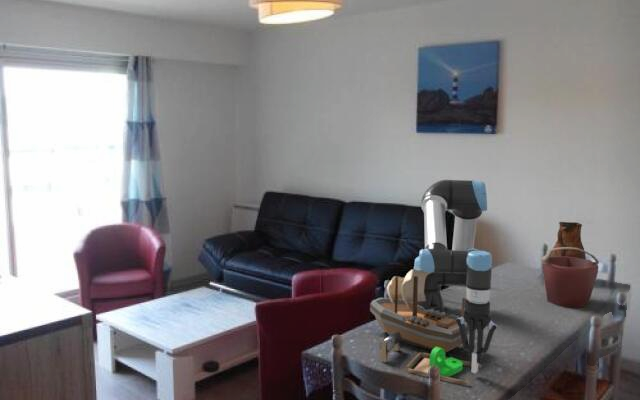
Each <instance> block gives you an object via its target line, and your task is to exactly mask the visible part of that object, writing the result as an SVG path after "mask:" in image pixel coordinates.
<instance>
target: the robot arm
mask: <svg viewBox="0 0 640 400" xmlns="http://www.w3.org/2000/svg"><path fill="white" fill-rule="evenodd" d="M420 206H421V207H420V208H421V210H422V212H423V218H424V219H423V220H424V222H423V223H424V226H423V227H424V249H423V248H422V249H420V250H419V253H418V254H419V255H418V256H417V257H416V258H414V266H413V269H419V270H421V271H425V272H432V273H430V274H428V275H427V277H426V279H425V285H424V295H425V299H426V301H418V302H417V305H419V306H421V307H423V308H424V309H425V310H430V309H434V311H440V312H444V309H445V302H444V298H443V295H442V292H441V291H442V290H441V287H442V286H447V287H448V286H449V287H463V288H465V299H467V300H466V301H465V308H464V315H463V317H461V316H458V317H459V318H458V319H457V320H456V322H457V324H458V326H459V329H460V334H461V339H462V344H461V345H462V348H463V349H464V350H467V351H468V362H472V367H470V368H471V370H470V371H471V372H470V373H472V374H477V373H478V371H479V368H478V364H481V363H482V361H483V360H482V359H483V354H486V353H487V352H488V351H489V348H490V345H491V341H492V339H493V335H494V333H495V331H496V329H498V327H499V325H498V323H494V322H493V321H492V318H491V315H490V314H491V313H490V310H491V302H490V301H491V291H492V286H491V285H492V270H493V256H492V254H491V252H488V251H486V250H479V249H477V248H475V238H476V234H477V233H476V231H477V222H478V219H479V218H480V217H481V216H482V213H483V212H485V211H487V210H488V197H487V187H486V184H485V182H484V181H483V180H475V179H472V180H470V179H469V180H467V179H464V180H462V179H442V180H438V181H436V182H434V183H432V184H431V185H430V186H429V187H428V188H427V189H426V190H425V191H424V193H423V195H422V197H421V205H420ZM446 211H451V212H452V215H454V224H453V226H454V227H453V236H452V246H451V248H452V249H448V243H447V239H448V238H447V226H446V225H447V224H446ZM412 303H413V302H412ZM465 321H466V323H467V324H468V326H469V334H467V333H466V328H465V324H464V323H465ZM487 326H488V328H489V330H488V333H487V335H486V339H485V342H484V330H485V328H486V327H487ZM475 329H476V330H475ZM476 331H477V340H476V338H475V337H476ZM468 335H469V336H468ZM468 338H469V339H468ZM475 342H476V344H475ZM483 343H484V344H483ZM475 345H476V349H475ZM483 345H484V346H483Z"/></svg>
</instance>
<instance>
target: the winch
mask: <svg viewBox="0 0 640 400" xmlns="http://www.w3.org/2000/svg"><path fill="white" fill-rule="evenodd" d="M401 339H402V337H401V334H400V331H396V330H395V331H394V332H393V333H392V334H391V335H389V334H388V336H387V337H385V338H384V340H383V341H381V342H380V343H379V350H380V351H381V352H380V353H381V354H380V355H381V357H380V362H381V363H387V362H388V357H389V356H388V354H389V352H391V351H392V350H393V351H394V352H399V351H400V342H402V341H401Z"/></svg>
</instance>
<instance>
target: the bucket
mask: <svg viewBox="0 0 640 400" xmlns="http://www.w3.org/2000/svg"><path fill="white" fill-rule="evenodd" d="M566 249H571V250H579V251H581V252H584V253H585V255H588V256H590V257H591V258H592V259H593V260H594V262H593V261H592V260H590V259H587V258H586V259H580V258H574V257H568V256H563V257H550V256H551V254H552V252H553V251H558V250H566ZM540 261H541V262H542V272H543V273H542V274H543V279H544V280H543V281H544V286H545V293H546V300H547V303H548V302H549V303H551V304H553V305H555V306H558V307H562V308H563V307H564V308H572V309H573V308H574V309H580V308H585V307H587V306H589V303H590V299H591V297H592V293H593V290H594V287H595V284H596V280H597V277H598V273H599V263H600V261H599V259H598V258H596V256H595V255H593V254H592V253H589V252H587V251H586V250H585V249H584V250H581V249H579V248H573V247H559V248H554V247H552V248H549V249H547V252H546V253H545V255H543V256H542V257H541V258H540Z"/></svg>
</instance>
